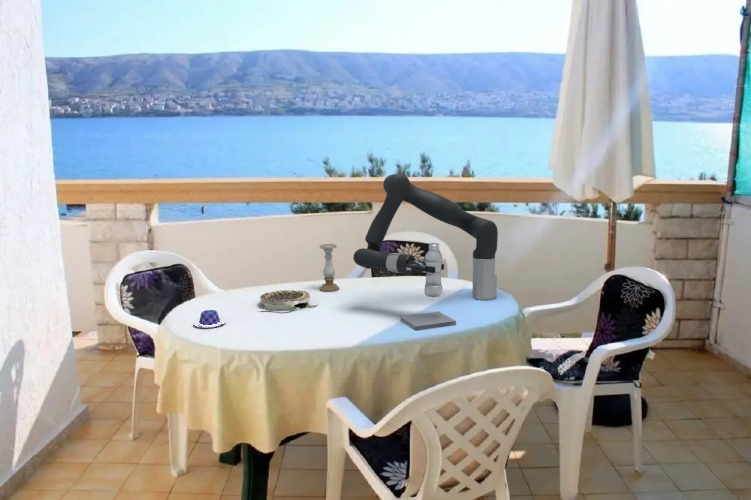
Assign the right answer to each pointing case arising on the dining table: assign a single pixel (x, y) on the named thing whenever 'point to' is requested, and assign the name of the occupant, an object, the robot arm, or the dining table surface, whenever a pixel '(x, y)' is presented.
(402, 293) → the dining table surface
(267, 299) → the pie
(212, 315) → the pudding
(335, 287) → the candle holder
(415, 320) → the slate tile
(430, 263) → the plastic bottle
